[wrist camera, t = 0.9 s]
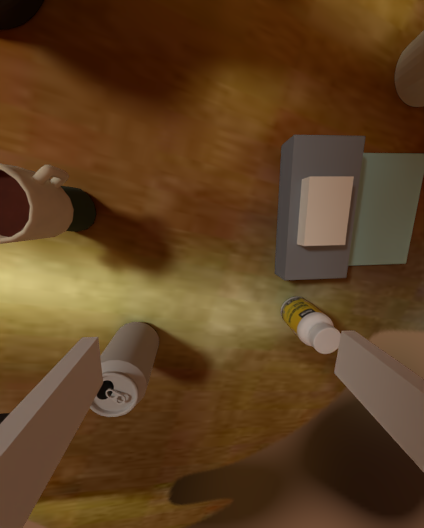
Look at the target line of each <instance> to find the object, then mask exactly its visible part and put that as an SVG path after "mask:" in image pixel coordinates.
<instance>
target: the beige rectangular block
mask: <svg viewBox="0 0 424 528" xmlns="http://www.w3.org/2000/svg"><path fill="white" fill-rule="evenodd" d="M353 179H354V176H310V177H307V178H304V179H302V184H301V197H300V210H299V223H298V236H297V244H298V245H302V246H324V245H345V241H346V233H347V225H348V218H349V210H350V202H351V194H352V187H353Z"/></svg>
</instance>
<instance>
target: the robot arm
mask: <svg viewBox="0 0 424 528" xmlns="http://www.w3.org/2000/svg"><path fill="white" fill-rule="evenodd" d="M42 2H43V0H0V29H8V28H13V27H16V26H18V25H20V24H22V23H24V22H26V21H27V20H28V19H30V18H31V17H32V16H33V15H34V14H35V13H36V12H37V10H38V9H39V7H40V6H41V4H42ZM334 373H335V374H336V376H337V377H338V378H339V379H340V380H341V381H342V382H343V383H344V384H345V386H346V387H347V388H348V389H349V390H350V391H351V392H352V393H353V394H354V396H355V397H356V398H357V399H358V400H359V401H360V402H361V403H362V404H363V405H364V406H365V408H366V409H367V410H368V411H369V412H370V413H371V414H372V415H373V416H374V418H375V419H376V420H377V421H378V422H379V423H380V424H381V425H382V427H383V428H384V429H385V430H386V431H387V432H388V433H389V434H390V435H391V436H392V438H393V439H394V440H395V441H396V442H397V443H398V444H399V445H400V446H401V447H402V449H403V450H404V451H405V452H406V453H407V454H408V455H409V456H410V457H411V459H413V461H414V462H415V463H416V464H417V465H418V466H419V467H420V469H421V470H422V471H423V472H424V379H423V378H421V377H420V376H419V375H417V374H416V373H414V372H413V371H411V370H410V369H409V368H407V367H406V366H404V365H403V364H401V363H400V362H399V361H397V360H396V359H394V358H393V357H391V356H390V355H388V354H387V353H386V352H384V351H383V350H381V349H380V348H379V347H377V346H376V345H374V344H373V343H371V342H370V341H369V340H367V339H366V338H364V337H363V336H361V335H360V334H359V333H357V332H356V331H342V332H341V337H340V343H339V348H338V354H337V360H336V365H335V371H334ZM102 384H103V377H102V368H101V359H100V350H99V341H98V337H82V338H81V339H80V340H79V341H78V342H77V343H76V345H75V346H74V347H73V348H72V349H71V350H70V351H69V352H68V353H67V354H66V355H65V356H64V357H63V358H62V359H61V360H60V361H59V362H58V364H57V365H56V366H55V367H54V368H53V369H52V370H51V371H50V372H49V373H48V374H47V375H46V376H45V377H44V378H43V379H42V380H41V381H40V383H39V384H38V385H37V386H36V387H35V388H34V389H33V390H32V391H31V392H30V393H29V394H28V395H27V396H26V397H25V398H24V399H23V400H22V401H21V403H20V404H19V405H18V406H17V407H16V408H15V409H14V410H13V411H12V412H11V413H6V414H0V528H23V526H24V524H25V523H26V521H27V519H28V517H29V515H30V514H31V512H32V510H33V508H34V506H35V505H36V503H37V501H38V499H39V497H40V496H41V494H42V492H43V490H44V488H45V487H46V485H47V483H48V481H49V479H50V478H51V476H52V474H53V472H54V470H55V469H56V467H57V465H58V463H59V462H60V460H61V458H62V456H63V454H64V453H65V451H66V449H67V447H68V445H69V444H70V442H71V440H72V438H73V436H74V435H75V433H76V431H77V429H78V427H79V426H80V424H81V422H82V420H83V418H84V417H85V415H86V413H87V411H88V410H89V408H90V406H91V404H92V402H93V401H94V399H95V397H96V395H97V393H98V392H99V390H100V388H101V386H102Z"/></svg>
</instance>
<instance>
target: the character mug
mask: <svg viewBox="0 0 424 528" xmlns="http://www.w3.org/2000/svg"><path fill="white" fill-rule="evenodd" d="M50 177H53V178H52V179H50ZM68 178H69V175H68V173H67V172H66V171H64V170H61V169H59V168H56V167H53V166H51V165H44V166H43V167H41V168H40V169H39V170H38V171H37V172H34V171H30V170H26V169H23V168H20V167H17V166H10V165H4V164H0V243H10V242H18V241H26V240H34V239H42V238H50V237H55V236H58V235H59V234H61V233H63V232H65V231H75V232H78V231H82V230H85V229H88V228H89V227H90V226H91V225H92V224H93V223H94V220H95V216H96V211H95V206H94V203H93V201H92V200H91V198H90V197H89V195H88V194H86V193H85V192H84V191H82V190H81V189H78V188H73V187H66V186H61V185H63V184H64V183H65V182H66V181H67V179H68Z"/></svg>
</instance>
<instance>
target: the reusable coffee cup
mask: <svg viewBox="0 0 424 528" xmlns="http://www.w3.org/2000/svg"><path fill="white" fill-rule="evenodd" d="M395 87H396V90H397V93H398V95H399V97H400V99H401V100H402V101H403V102H404V103H406V104H407V105H409V106H412V107H423V106H424V31H423V32H422V33H420V34H419V35H418V36H417V37H416V38H415V39H414V40H413V41H412V42H411V43H410V44H409V45H408V46H407V47H406V48H405V50H404V51H403V52H402V54H401V56H400V58H399V60H398V63H397V66H396V70H395Z"/></svg>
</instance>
